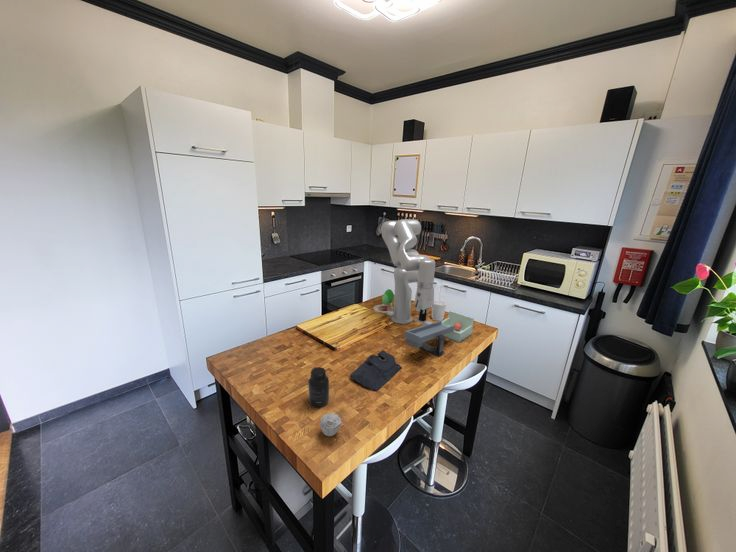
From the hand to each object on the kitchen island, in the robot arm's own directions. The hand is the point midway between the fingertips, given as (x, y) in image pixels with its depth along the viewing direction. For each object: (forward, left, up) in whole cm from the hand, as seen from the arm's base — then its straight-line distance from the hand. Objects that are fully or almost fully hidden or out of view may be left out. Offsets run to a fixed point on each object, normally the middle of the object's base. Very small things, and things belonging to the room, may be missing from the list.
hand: (422, 320), depth 141 cm
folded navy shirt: (-16, -33, -11) cm, 39 cm away
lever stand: (+5, -10, -10) cm, 15 cm away
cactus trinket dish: (-25, +33, -11) cm, 43 cm away
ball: (+18, +14, -7) cm, 24 cm away
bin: (+16, +10, -10) cm, 22 cm away
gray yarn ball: (-21, -68, -10) cm, 72 cm away
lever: (+1, -8, -4) cm, 9 cm away
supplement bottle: (-30, -56, -10) cm, 64 cm away
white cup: (+8, +27, -10) cm, 30 cm away
